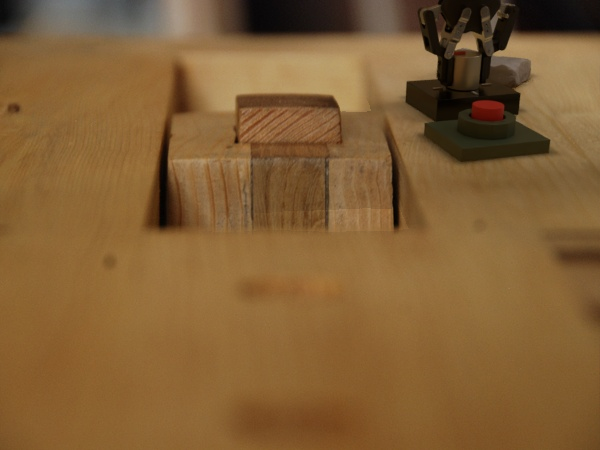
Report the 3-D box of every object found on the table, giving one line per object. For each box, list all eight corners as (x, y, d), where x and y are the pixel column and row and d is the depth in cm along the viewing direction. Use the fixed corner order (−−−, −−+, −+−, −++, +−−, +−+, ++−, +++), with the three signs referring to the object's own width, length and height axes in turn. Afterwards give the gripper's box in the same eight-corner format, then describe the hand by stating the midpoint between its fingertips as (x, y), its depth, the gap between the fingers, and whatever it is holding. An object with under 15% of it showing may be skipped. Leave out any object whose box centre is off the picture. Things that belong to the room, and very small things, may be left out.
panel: (482, 95, 117) (484, 74, 116) (518, 115, 109) (521, 91, 107) (405, 102, 114) (406, 80, 113) (435, 122, 105) (437, 98, 104)
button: (493, 113, 97) (494, 99, 96) (508, 122, 93) (510, 107, 93) (465, 116, 96) (466, 101, 95) (480, 124, 93) (481, 109, 92)
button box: (504, 132, 102) (507, 100, 100) (548, 157, 93) (552, 124, 92) (423, 139, 99) (425, 107, 97) (461, 167, 90) (464, 132, 89)
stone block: (464, 77, 134) (438, 77, 126) (470, 47, 132) (444, 46, 124) (533, 91, 128) (511, 92, 119) (540, 60, 126) (519, 59, 118)
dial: (469, 81, 113) (472, 46, 111) (484, 89, 109) (488, 53, 107) (440, 83, 111) (442, 48, 109) (454, 91, 108) (457, 55, 106)
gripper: (434, -45, 98) (425, 95, 105) (539, -48, 101) (524, 86, 109) (409, -51, 104) (402, 81, 111) (509, -54, 108) (496, 73, 115)
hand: (462, 83), depth 110 cm, fingers closed on dial, 4 cm apart
